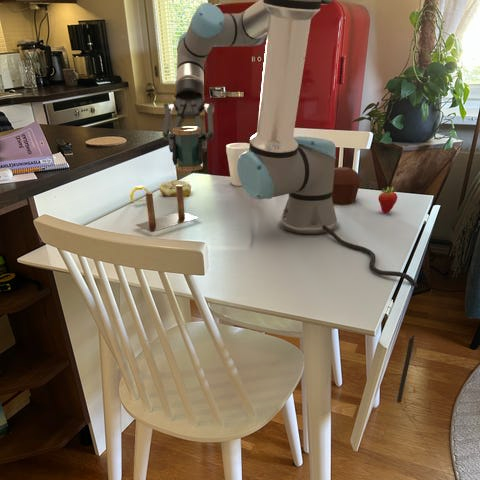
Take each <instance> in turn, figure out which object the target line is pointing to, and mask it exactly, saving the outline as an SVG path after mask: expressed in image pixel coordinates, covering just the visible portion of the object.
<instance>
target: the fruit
mask: <svg viewBox="0 0 480 480" xmlns="http://www.w3.org/2000/svg"><path fill="white" fill-rule="evenodd" d="M394 188H395V186H387V187H386V189H385V188H382V189H381V190H379V192H380V194H379V195H378V198H377V199H378V202H379V204H380V210H381V212H382V213H383V214H388V213H390V212H391V211H392V210H393V208H394V206H395V205H396V203H397V201H398V195H397V193H396V192H397V189H394Z"/></svg>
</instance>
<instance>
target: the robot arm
mask: <svg viewBox="0 0 480 480" xmlns="http://www.w3.org/2000/svg"><path fill="white" fill-rule="evenodd" d="M334 1H335V0H258V1H256V2H255V3H254V4H252V5H250V6H249V7H248V8H246V9H245V10H243V11H242V12H239V13H223V12H222V10H221V8H219V7H218V6H217V5H213V4H212V3H211V2H203V3H201V4H199V6H198V7H197V8H196V11H194V13H193V15H192V17H191V19H190V23H189V26H188V28H187V31H185V32H184V33H183V34H181V35H180V36H179V38H178V42H177V46H176V53H177V56H176V78H175V98H174V99H175V100H174V101H173V103H171V104H168V103H167V102H165V103H164V104H163V108H164V117H163V125H162V137H163V140H164V141H166V142H167V141H168V150H169V152H170V153H172V163H173V166H175V165H177V150H176V139H175V134H173V131H172V130H173V128H176V127H182V125H183V123H184V122H185V120H187V119H194V122H195V124H196V127H201V133H199V148H198V160H199V165H202V163H203V153H206V152H207V149H208V142H209V141H213V140H214V139H215V137H214V119H213V116H214V113H215V104H214V103H213V102H210V103H205V100H204V92H205V91H204V86H205V63H206V60H207V58H208V56H209V54H210V53H211V51H212V49H213V48H217V47H219V48H222V47H223V48H224V47H254V46H260V45H262V44H263V43H264V41H265V39H266V44H265V51H264V52H265V53H264V62H263V71H262V81H261V91H260V101H259V111H258V120H257V130H256V133H255V134H253V135H252V136H251V137H250V139H249V143H248V144H249V151H246V152H244V153H242V154H241V156H240V157H239V159H238V164H237V169H238V176H239V179H240V182H241V184H242V186H241V187H242V189H243V190H244V191H245V193H246V194H247V195H248V196H249V197H250V198H252V199H254V200H259V201H260V200H266V199H267V200H270V199H273V198H276V197H281V196H286V195H288V197H287V201H286V204H285V207H284V209H283V212H282V215H281V218H280V225H281V228H283V229H284V230H286V231H288V232H290V233H294V234H298V235H299V234H300V235H322V234H329V235H330V236H331V237H333V239H335V241H336V242H338V243H339V244H341V245H342V246H345V247H347V248H350V249H353V250H357V251H361V252H364V253H365V254H368V255H369V256H370V261H369V268H370V270H371V271H372V272H373V273H375V274H376V275H380V276H385V277H386V276H387V277H398V278H402V279H404V280H406V281H407V282H408V283H410V285H411V286H412V287H414V288H418V284H417V282H416V280H415V279H414V278H413V277H412V276H410V275H409V274H407V273H405V272H401V271H395V270H394V271H393V270H383V269H382V270H381V269H379V268H377V267H376V266H375V262H376V254H375V253H374V252H373V251H372V250H371V249H369V248H367V247H364V246H361V245H358V244H353V243H350V242H348V241H346V240H344V239H342V238H341V237H339V235H338V234H336V233H335V232H334V230H335V229H336V228H337V224H338V223H337V222H338V218H337V214H336V211H335V206H334V205H335V204H333V201H332V191H333V180H334V170H335V168H336V160H337V156H336V153H337V151H336V149H337V147H336V144H335V142H333V141H332V140H330V139H325V138H319V137H311V136H299V135H298V136H296V135H295V136H294V133H295V127H296V120H297V114H298V108H299V101H300V94H301V88H302V87H301V86H302V81H303V74H304V67H305V61H306V56H307V50H308V49H307V48H308V42H309V35H310V28H311V21H312V19H313V18H314V16H316V14H317V13H319V12H320V11H321V7H322V6H325V5H329V4H330V3H333V2H334ZM174 110H175V112H176V117H175V119H174V122H173V125H172V127H171V122H172V114H173V113H174ZM204 110H205V113H207V130H208V131H207V132H206V131H205V127H204V124H203V121H202V118H201V116H200V114H201V113H202V112H203V111H204ZM414 341H415V335H412V336H411V337H410V338H409V339H408V344H407V349H406V354H405V358H404V359H405V360H404V363H403V368H402V374H401V377H400V382H399V388H398V391H397V392H398V393H397V398H396V403H399V404H401V403H402V401H403V394H404V389H405V385H406V380H407V376H408V371H409V368H410V367H409V366H410V362H411V357H412V353H413V347H414Z"/></svg>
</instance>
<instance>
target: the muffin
mask: <svg viewBox="0 0 480 480" xmlns="http://www.w3.org/2000/svg"><path fill="white" fill-rule="evenodd" d="M362 181H363V180H362V178H361V176H360V175H359V173H358V172H357V171H356V170H354V169H353V168H350V167H346V166H339V167H335V170H334V180H333V191H332V201H333V205H342V206H343V205H351V204H353V203H355V202H356V199H357V196H358V192H359V189H360V184H361V183H362Z"/></svg>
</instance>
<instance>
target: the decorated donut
mask: <svg viewBox="0 0 480 480" xmlns="http://www.w3.org/2000/svg"><path fill="white" fill-rule="evenodd" d="M176 185H182V186H183V198H185V197H187V196H189V195H190V194H191V192H192V185H191V184H190V183H189V182H187V181H183V180H170V181H165V182H162V183H161V184H160V185H159V192H160V194H161V195H162V196H164V197H166V198H177V193H176Z"/></svg>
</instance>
